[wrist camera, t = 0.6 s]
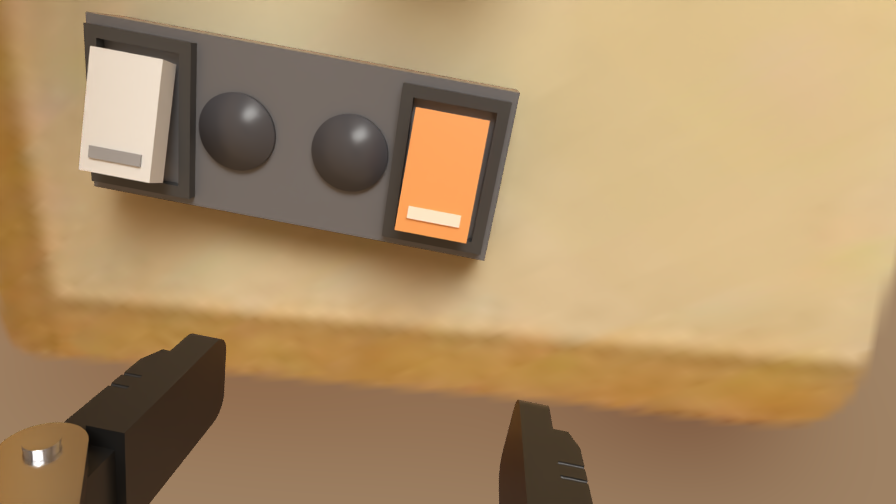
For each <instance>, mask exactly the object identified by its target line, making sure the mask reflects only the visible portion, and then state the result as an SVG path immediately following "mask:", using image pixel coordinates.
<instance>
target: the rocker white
mask: <svg viewBox="0 0 896 504" xmlns="http://www.w3.org/2000/svg"><path fill="white" fill-rule="evenodd" d="M175 72H176V64H173V63H171V62H168V61H166V60H163V59H158V58H153V57H148V56H142V55H137V54H132V53H126V52H121V51H116V50H110V49H105V48H100V47H94V46H90V52H89V62H88V73H87V84H86V95H85V106H84V117H83V128H82V139H81V149H80V160H79V170H84V171H89V172H94V173H100V174H105V175H110V176H115V177H120V178H126V179H131V180H136V181H141V182H147V183H163V177H164V169H165V160H166V151H167V142H168V133H169V125H170V116H171V107H172V98H173V89H174V81H175Z"/></svg>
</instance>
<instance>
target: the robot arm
mask: <svg viewBox="0 0 896 504" xmlns="http://www.w3.org/2000/svg"><path fill="white" fill-rule="evenodd" d="M225 360H226V344H225V342H224V340H222V339H217V338H212V337H207V336H202V335H197V334H189V335H188V336H187V337H186V338H184V339H183V340H182V341H181V342H180V343H179V344H178V345H176V346H175V347H174V348H173V349H172V350H171V351H168V350H160V351H158V352H156V353H153V354H151V355H149V356H146V357H144V358H142V359H140V360H139V361H137V362H136V363H135V364H134V365H133V366H131V367H130V368H129V369H128V370H127V371H125V373H124V375H121V376H120V377H118V378H117V379H116V380H114V381H113V382H112V384H111V386H107V387H106V388H105V389H104V390H102V391H101V392H100V393H99V394H98V395H96V396H95V397H94V398H93V399H92V400H90V401H89V402H88V403H87V404H85V405H84V406H83V407H82V408H81V409H79V410H78V411H77V412H76V413H75V414H73V416H71V417H70V418H69V419H67V420H66V421H65V422H53V423H46V424H40V425H36V426H32V427H29V428H26V429H23V430H21V431H19V432H17V433H15V434H13V435H11V436H10V437H8V438H7V439H5V440H4V441H3V442H2V443H1V444H0V504H149V503H150V502H151V501H152V500H153V498H154V497H155V496H156V494H157V493H158V492H159V491H160V489H161V488H162V487H163V486H164V484H165V483H166V482H167V481H168V479H169V478H170V477H171V476H172V474H173V473H174V472H175V470H176V469H177V468H178V467H179V465H180V464H181V463H182V462H183V460H184V459H185V458H186V457H187V455H188V454H189V453H190V451H191V450H192V449H193V448H194V446H195V445H196V444H197V443H198V441H199V440H200V439H201V437H202V436H203V435H204V434H205V432H206V431H207V430H208V429H209V427H210V426H211V425H212V424H213V422H214V421H215V419H216V418H217V416H218V414H219V411H220V409H221V406H222V402H223V397H224V381H225ZM499 504H593V503H592V498H591V494H590V490H589V486H588V484H587V476H586V472H585V470H584V463H583V459H582V455H581V450H580V448H579V446H578V445H577V444H576V442H575V441H574V440H573V438H572V437H571V435H570V434H569V433H568V432H565V431H560V430H555V429H553V427H552V421H551V415H550V409H549V406H546V405H542V404H537V403H532V402H527V401H522V400H517V402H516V404H515V407H514V410H513V414H512V418H511V422H510V426H509V430H508V434H507V437H506V441H505V445H504V449H503V453H502V458H501V463H500V471H499Z"/></svg>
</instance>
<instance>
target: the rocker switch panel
mask: <svg viewBox="0 0 896 504" xmlns="http://www.w3.org/2000/svg"><path fill="white" fill-rule="evenodd" d="M84 42H85V61H86V80H87V73H88V62H89V52H90V46H94V47H100V48H105V49H110V50H116V51H121V52H126V53H132V54H137V55H142V56H148V57H153V58H158V59H163V60H166V61H168V62H171V63H173V64H176V72H175V81H174V89H173V98H172V107H171V116H170V125H169V133H168V142H167V151H166V160H165V169H164V177H163V183H147V182H141V181H136V180H131V179H126V178H120V177H115V176H110V175H105V174H100V173H94V172H91V175H92V181H94V185H95V186H96V187H102V188H107V189H112V190H117V191H123V192H128V193H133V194H138V195H144V196H149V197H154V198H159V199H164V200H170V201H175V202H180V203H185V204H191V205H196V206H201V207H206V208H212V209H217V210H222V211H227V212H232V213H238V214H243V215H248V216H253V217H259V218H264V219H269V220H274V221H279V222H285V223H290V224H295V225H300V226H306V227H311V228H316V229H321V230H327V231H332V232H337V233H342V234H347V235H353V236H358V237H363V238H368V239H374V240H379V241H384V242H389V243H394V244H400V245H405V246H410V247H415V248H421V249H426V250H431V251H436V252H442V253H447V254H452V255H457V256H462V257H468V258H473V259H478V260H483V261H484V259H485V255H486V250H487V245H488V241H489V236H490V231H491V226H492V222H493V217H494V212H495V208H496V203H497V198H498V193H499V189H500V184H501V179H502V175H503V170H504V165H505V160H506V156H507V151H508V146H509V142H510V137H511V132H512V127H513V123H514V118H515V113H516V109H517V104H518V99H519V94H520V92H519V91H518V90H515V89H509V88H504V87H499V86H493V85H488V84H483V83H477V82H472V81H467V80H461V79H456V78H451V77H445V76H440V75H435V74H429V73H424V72H419V71H413V70H408V69H402V68H397V67H392V66H386V65H381V64H376V63H370V62H365V61H360V60H354V59H349V58H344V57H338V56H333V55H328V54H322V53H317V52H312V51H306V50H301V49H295V48H290V47H285V46H279V45H274V44H269V43H263V42H258V41H253V40H247V39H242V38H237V37H231V36H226V35H221V34H215V33H210V32H205V31H199V30H194V29H188V28H183V27H178V26H172V25H167V24H162V23H156V22H151V21H146V20H140V19H135V18H130V17H124V16H116V15H108V14H100V13H92V12H86V23H84ZM416 107H419V108H424V109H430V110H435V111H440V112H446V113H451V114H456V115H462V116H467V117H472V118H478V119H483V120H488V121H490V124H489V129H488V134H487V139H486V144H485V149H484V155H483V160H482V165H481V170H480V175H479V180H478V185H477V191H476V196H475V201H474V206H473V211H472V216H471V222H470V227H469V232H468V237H467V242H466V243H461V242H456V241H450V240H445V239H440V238H435V237H429V236H424V235H419V234H414V233H409V232H403V231H398V230H395V224H396V218H397V213H398V207H399V201H400V195H401V190H402V184H403V178H404V173H405V167H406V161H407V155H408V150H409V144H410V138H411V132H412V127H413V121H414V115H415V110H416Z"/></svg>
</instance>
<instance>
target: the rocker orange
mask: <svg viewBox="0 0 896 504" xmlns="http://www.w3.org/2000/svg"><path fill="white" fill-rule="evenodd" d="M489 124H490V121H488V120H483V119H478V118H472V117H467V116H462V115H456V114H451V113H446V112H440V111H435V110H430V109H424V108H419V107H416V110H415V115H414V121H413V127H412V132H411V138H410V144H409V150H408V155H407V161H406V167H405V173H404V178H403V184H402V190H401V195H400V201H399V207H398V213H397V218H396V224H395V230H398V231H403V232H409V233H414V234H419V235H424V236H429V237H435V238H440V239H445V240H450V241H456V242H461V243H466V242H467V237H468V232H469V227H470V222H471V216H472V211H473V206H474V201H475V196H476V191H477V185H478V180H479V175H480V170H481V165H482V160H483V155H484V149H485V144H486V139H487V134H488V129H489Z"/></svg>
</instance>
